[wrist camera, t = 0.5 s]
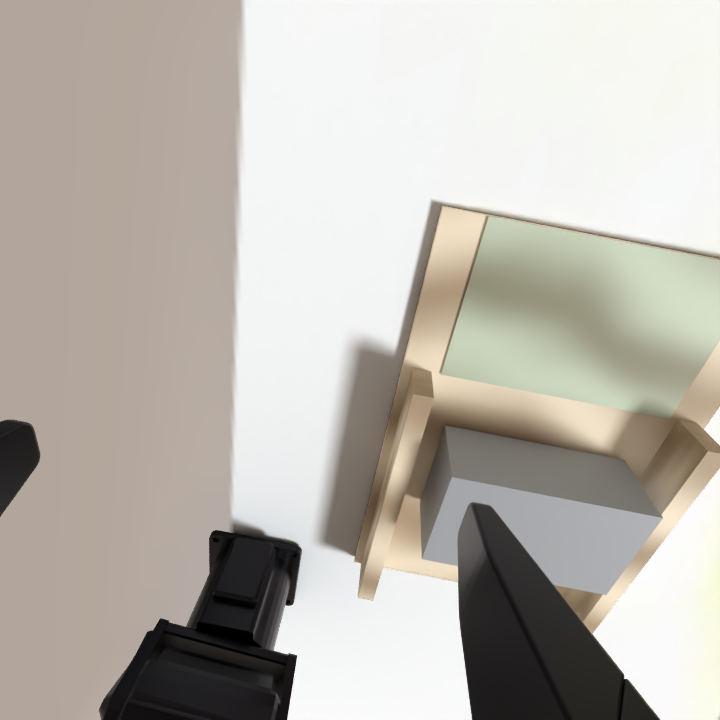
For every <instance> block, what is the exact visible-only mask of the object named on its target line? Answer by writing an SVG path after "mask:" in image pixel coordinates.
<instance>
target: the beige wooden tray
mask: <svg viewBox="0 0 720 720" xmlns="http://www.w3.org/2000/svg"><path fill="white" fill-rule="evenodd" d="M719 407H720V259H718V258H713V257H708V256H703V255H697V254H692V253H687V252H682V251H677V250H671V249H666V248H661V247H656V246H651V245H645V244H640V243H635V242H630V241H624V240H619V239H614V238H609V237H604V236H598V235H593V234H588V233H583V232H577V231H572V230H567V229H562V228H557V227H551V226H546V225H541V224H536V223H530V222H525V221H520V220H515V219H510V218H504V217H499V216H494V215H489V214H484V213H478V212H473V211H468V210H463V209H457V208H452V207H447V206H442V207H441V211H440V215H439V219H438V224H437V228H436V232H435V236H434V240H433V244H432V248H431V252H430V256H429V260H428V264H427V268H426V272H425V276H424V280H423V284H422V288H421V292H420V296H419V300H418V304H417V308H416V312H415V316H414V320H413V324H412V328H411V332H410V336H409V341H408V345H407V349H406V353H405V357H404V361H403V365H402V369H401V373H400V377H399V381H398V385H397V389H396V393H395V397H394V401H393V405H392V409H391V413H390V417H389V421H388V425H387V429H386V433H385V437H384V441H383V445H382V449H381V453H380V457H379V462H378V466H377V470H376V474H375V478H374V482H373V486H372V490H371V494H370V498H369V502H368V506H367V510H366V514H365V518H364V522H363V526H362V530H361V534H360V538H359V542H358V546H357V550H356V554H355V560H354V562H357V563H361V571H360V580H359V590H358V598H362V599H367V600H372V601H373V599H374V595H375V592H376V589H377V585H378V582H379V579H380V575H381V572H382V569H383V568H388V569H393V570H398V571H403V572H408V573H413V574H418V575H424V576H429V577H434V578H439V579H444V580H449V581H454V582H458V566H454V565H449V564H444V563H439V562H434V561H429V560H423V559H422V551H421V524H420V500H421V497H422V494H423V490H424V487H425V484H426V481H427V478H428V475H429V472H430V469H431V466H432V463H433V460H434V457H435V454H436V451H437V448H438V445H439V442H440V439H441V436H442V433H443V430H444V427H445V425H447V426H452V427H457V428H462V429H467V430H472V431H478V432H483V433H488V434H493V435H498V436H503V437H508V438H514V439H519V440H524V441H529V442H534V443H539V444H545V445H550V446H555V447H560V448H565V449H570V450H576V451H581V452H586V453H591V454H596V455H601V456H607V457H612V458H617V459H622V460H625V461H626V463H627V464H628V466H629V467H630V469H631V470H632V472H633V473H634V475H635V476H636V478H637V479H638V481H639V482H640V484H641V486H642V487H643V489H644V490H645V492H646V493H647V495H648V496H649V498H650V499H651V501H652V502H653V504H654V505H655V507H656V508H657V510H658V511H659V513H660V514H661V516H662V517H663V519H662V520H661V522H660V523H659V524H658V526H657V527H656V528H655V530H654V531H653V533H652V534H651V535H650V537H649V538H648V539H647V541H646V542H645V543H644V545H643V546H642V547H641V549H640V550H639V551H638V553H637V554H636V556H635V557H634V558H633V560H632V561H631V562H630V564H629V565H628V566H627V568H626V569H625V570H624V572H623V573H622V575H621V576H620V577H619V579H618V580H617V581H616V583H615V584H614V585H613V587H612V588H611V589H610V591H609V592H608V593H607V595H603V594H598V593H593V592H587V591H582V590H577V589H572V588H567V587H562V586H557V585H554V586H555V587H556V589H557V590H558V591H559V592H560V594H561V595H562V596H563V598H564V599H565V600H566V601H567V603H568V604H569V605H570V606H571V608H572V609H573V610H574V611H575V613H576V614H577V615H578V617H579V618H580V619H581V620H582V622H583V623H584V624H585V625H586V627H587V628H588V629H589V631H590V632H591V633H593V632H594V631H595V629H596V628H597V627H598V626H599V624H600V623H601V622H602V620H603V619H604V618H605V616H606V615H607V614H608V613H609V611H610V610H611V609H612V607H613V606H614V605H615V603H616V602H617V601H618V600H619V598H620V597H621V596H622V594H623V593H624V592H625V590H626V589H627V588H628V587H629V585H630V584H631V583H632V581H633V580H634V579H635V577H636V576H637V575H638V573H639V572H640V571H641V570H642V568H643V567H644V566H645V564H646V563H647V562H648V560H649V559H650V558H651V557H652V555H653V554H654V553H655V551H656V550H657V549H658V547H659V546H660V545H661V544H662V542H663V541H664V540H665V538H666V537H667V536H668V534H669V533H670V532H671V531H672V529H673V528H674V527H675V525H676V524H677V523H678V521H679V520H680V519H681V517H682V516H683V515H684V514H685V512H686V511H687V510H688V508H689V507H690V506H691V504H692V503H693V502H694V501H695V499H696V498H697V497H698V495H699V494H700V493H701V491H702V490H703V489H704V488H705V486H706V485H707V484H708V482H709V481H710V480H711V478H712V477H713V476H714V475H715V473H716V472H717V471H718V469H719V468H720V446H719V445H718V444H717V443H716V442H715V441H714V440H713V439H712V438H711V437H710V436H709V435H708V434H707V433H706V432H705V431H704V428H705V427H706V425H707V424H708V422H709V421H710V420H711V418H712V417H713V415H714V414H715V412H716V411H717V410H718V408H719Z"/></svg>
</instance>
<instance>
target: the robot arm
mask: <svg viewBox="0 0 720 720" xmlns="http://www.w3.org/2000/svg"><path fill="white" fill-rule="evenodd" d="M39 459H40V451H39V447H38V443H37V439H36V435H35V431H34V428H33V426H32V425H31V424H30V423H27V422H22V421H17V420H5V421H1V422H0V516H1V515H2V513H3V512H4V511H5V509H6V508H7V506H8V505H9V504H10V502H11V501H12V500H13V498H14V497H15V495H16V494H17V492H18V491H19V490H20V489H21V487H22V486H23V484H24V483H25V482H26V480H27V479H28V477H29V476H30V475H31V473H32V472H33V471H34V469H35V468H36V466H37V465H38V462H39ZM457 546H458V591H459V619H460V629H461V637H462V645H463V653H464V660H465V668H466V676H467V683H468V691H469V699H470V706H471V714H472V720H660V719H659V717H658V716H657V715H656V714H655V713H654V711H653V710H652V709H651V708H650V706H649V705H648V704H647V703H646V701H645V700H644V699H643V698H642V696H641V695H640V694H639V693H638V691H637V690H636V689H635V687H634V686H633V685H632V684H631V682H630V681H629V680H628V679H624V674H623V672H622V671H621V670H620V669H619V667H618V666H617V665H616V664H615V662H614V661H613V660H612V658H611V657H610V656H609V655H608V653H607V652H606V651H605V650H604V648H603V647H602V646H601V645H600V643H599V642H598V641H597V639H596V638H595V637H594V636H593V634H592V633H591V632H590V631H589V629H588V628H587V627H586V625H585V624H584V623H583V622H582V620H581V619H580V618H579V617H578V615H577V614H576V613H575V611H574V610H573V609H572V608H571V606H570V605H569V604H568V603H567V601H566V600H565V599H564V598H563V596H562V595H561V594H560V592H559V591H558V590H557V589H556V587H555V586H554V585H553V584H552V582H551V581H550V580H549V578H548V577H547V576H546V575H545V573H544V572H543V571H542V570H541V568H540V567H539V566H538V564H537V563H536V562H535V561H534V559H533V558H532V557H531V556H530V554H529V553H528V552H527V551H526V549H525V548H524V547H523V545H522V544H521V543H520V542H519V540H518V539H517V538H516V537H515V535H514V534H513V533H512V531H511V530H510V529H509V528H508V526H507V525H506V524H505V523H504V521H503V520H502V519H501V517H500V516H499V515H498V514H497V512H496V511H495V510H494V509H493V508H492V507H491V506H490V505H487V504H482V503H476V502H471V503H470V504H469V505H468V507H467V509H466V512H465V515H464V517H463V520H462V523H461V525H460V528H459V532H458V539H457ZM209 553H210V555H209V558H210V559H209V561H210V562H209V564H210V574H209V576H208V578H207V581H206V583H205V585H204V588H203V590H202V592H201V595H200V596H199V599H198V601H197V603H196V605H195V608H194V610H193V612H192V614H191V617H190V619H189V621H188V623H187V626H186V627H184V626H180V625H177V624H173V623H169V620H165V619H160V620H159V622H158V623H157V625H156V627H155V628H154V630H153V631H149V632H147V634H146V636H145V637H144V639H143V641H142V643H141V645H140V647H139V649H138V651H137V653H136V655H135V656H134V658H133V660H132V661H131V663H130V664H129V666H128V667H127V669H126V670H125V671H124V673H123V674H122V675H121V677H120V678H119V679H118V681H117V682H116V683H115V685H114V686H113V687H112V689H111V690H110V691H109V693H108V694H107V695H106V697H105V698H104V700H103V702H102V704H101V706H100V709H99V712H100V716H101V720H287V716H288V710H289V704H290V697H291V691H292V685H293V678H294V672H295V666H296V659H297V655H294V654H290V653H289V654H288V655H287V654H283V653H280V652H276V651H273V650H274V646H275V642H276V639H277V635H278V631H279V627H280V623H281V619H282V615H283V611H284V607H285V605H287V606H290V605H292V604H293V603H294V599H295V593H296V586H297V580H298V573H299V567H300V560H301V554H302V550H301V548H300V547H298V546H295V545H290V544H285V543H280V542H275V541H270V540H265V539H259V538H254V537H249V536H244V535H239V534H234V533H229V532H223V531H218V530H215V531H213V532H212V533H211V536H210V538H209Z"/></svg>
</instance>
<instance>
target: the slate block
mask: <svg viewBox="0 0 720 720" xmlns="http://www.w3.org/2000/svg"><path fill="white" fill-rule="evenodd" d="M471 502H476V503H482V504H487V505H490V506H491V507H492V508H493V509H494V510H495V511H496V512H497V514H498V515H499V516H500V517H501V519H502V520H503V521H504V523H505V524H506V525H507V526H508V528H509V529H510V530H511V531H512V533H513V534H514V535H515V537H516V538H517V539H518V540H519V542H520V543H521V544H522V545H523V547H524V548H525V549H526V551H527V552H528V553H529V554H530V556H531V557H532V558H533V559H534V561H535V562H536V563H537V564H538V566H539V567H540V568H541V570H542V571H543V572H544V573H545V575H546V576H547V577H548V578H549V580H550V581H551V582H552V584H553V585H557V586H562V587H567V588H572V589H577V590H582V591H587V592H593V593H598V594H603V595H607V593H608V592H609V591H610V589H611V588H612V587H613V585H614V584H615V583H616V581H617V580H618V579H619V577H620V576H621V575H622V573H623V572H624V570H625V569H626V568H627V566H628V565H629V564H630V562H631V561H632V560H633V558H634V557H635V556H636V554H637V553H638V551H639V550H640V549H641V547H642V546H643V545H644V543H645V542H646V541H647V539H648V538H649V537H650V535H651V534H652V533H653V531H654V530H655V528H656V527H657V526H658V524H659V523H660V522H661V520H662V519H663V517H662V516H661V514H660V513H659V511H658V510H657V508H656V507H655V505H654V504H653V502H652V501H651V499H650V498H649V496H648V495H647V493H646V492H645V490H644V489H643V487H642V486H641V484H640V482H639V481H638V479H637V478H636V476H635V475H634V473H633V472H632V470H631V469H630V467H629V466H628V464H627V463H626V461H625V460H622V459H617V458H612V457H607V456H601V455H596V454H591V453H586V452H581V451H576V450H570V449H565V448H560V447H555V446H550V445H545V444H539V443H534V442H529V441H524V440H519V439H514V438H508V437H503V436H498V435H493V434H488V433H483V432H478V431H472V430H467V429H462V428H457V427H452V426H447V425H445V427H444V430H443V433H442V436H441V439H440V442H439V445H438V448H437V451H436V454H435V457H434V460H433V463H432V466H431V469H430V472H429V475H428V478H427V481H426V484H425V487H424V490H423V494H422V497H421V500H420V524H421V551H422V559H423V560H429V561H434V562H439V563H444V564H449V565H454V566H458V546H457V539H458V532H459V528H460V525H461V523H462V520H463V517H464V515H465V512H466V509H467V507H468V505H469V504H470V503H471Z"/></svg>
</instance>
